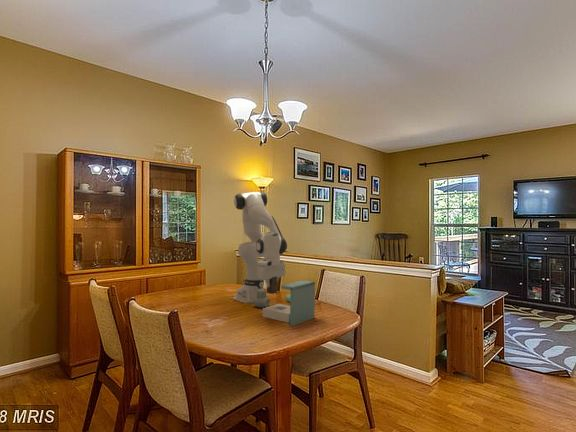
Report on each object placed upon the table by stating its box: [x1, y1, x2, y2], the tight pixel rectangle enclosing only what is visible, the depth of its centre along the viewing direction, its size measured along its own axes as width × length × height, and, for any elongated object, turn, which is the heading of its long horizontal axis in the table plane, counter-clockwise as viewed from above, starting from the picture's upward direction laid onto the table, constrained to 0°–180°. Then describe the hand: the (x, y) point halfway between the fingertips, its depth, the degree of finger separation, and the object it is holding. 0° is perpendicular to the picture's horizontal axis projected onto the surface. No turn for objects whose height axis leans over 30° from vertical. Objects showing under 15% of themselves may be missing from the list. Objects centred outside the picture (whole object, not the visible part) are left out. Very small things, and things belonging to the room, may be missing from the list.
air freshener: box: [252, 289, 271, 309], centre depth 212 cm, size 11×8×10 cm
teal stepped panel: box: [280, 280, 316, 327], centre depth 184 cm, size 8×20×20 cm, turn 143°
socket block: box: [262, 303, 290, 324], centre depth 190 cm, size 18×14×4 cm
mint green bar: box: [285, 293, 290, 303], centre depth 218 cm, size 6×6×25 cm
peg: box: [266, 277, 278, 295], centre depth 191 cm, size 4×4×9 cm
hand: (271, 286), depth 191 cm, fingers closed on peg, 4 cm apart
